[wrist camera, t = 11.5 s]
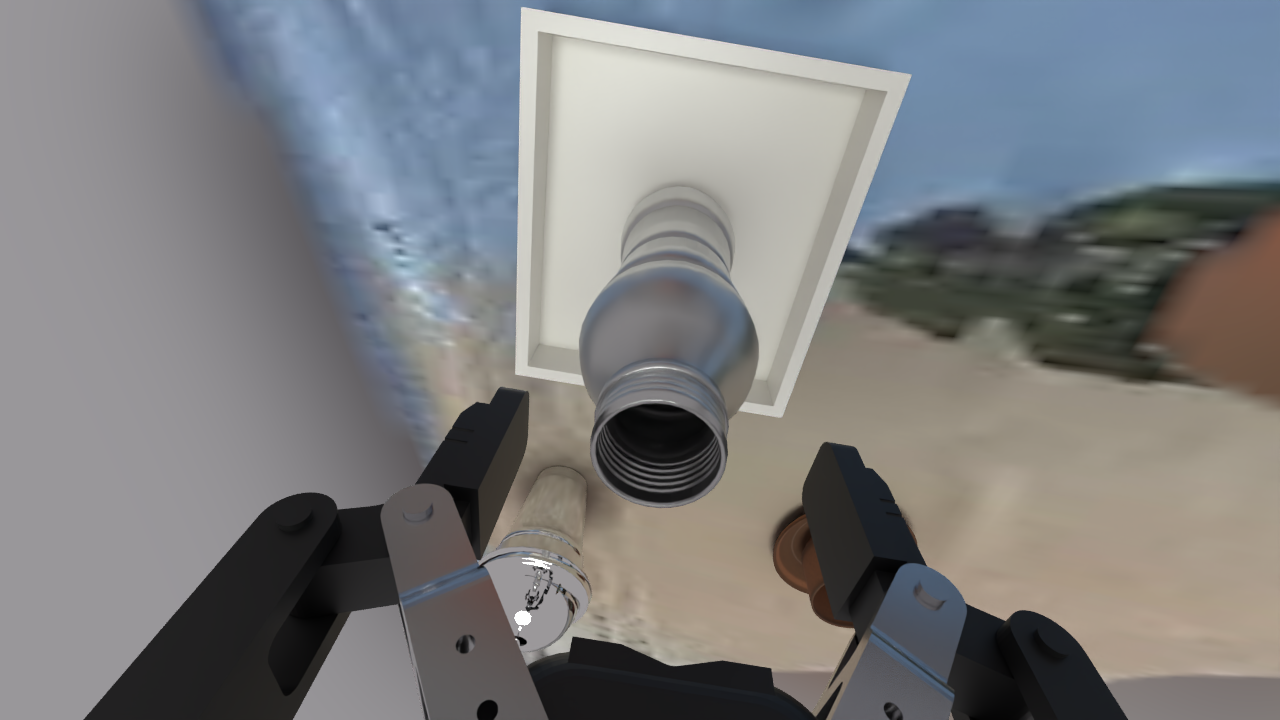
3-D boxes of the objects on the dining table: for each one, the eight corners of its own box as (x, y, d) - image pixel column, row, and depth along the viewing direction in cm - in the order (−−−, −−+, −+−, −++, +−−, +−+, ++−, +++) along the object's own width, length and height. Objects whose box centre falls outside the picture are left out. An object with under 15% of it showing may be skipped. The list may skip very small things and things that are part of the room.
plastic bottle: (735, 176, 28) (804, 340, 10) (729, 288, 31) (773, 551, 14) (623, 179, 28) (513, 338, 11) (628, 288, 32) (552, 539, 14)
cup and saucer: (752, 510, 43) (762, 572, 38) (894, 474, 40) (926, 537, 34) (791, 590, 48) (804, 654, 43) (919, 564, 45) (950, 629, 40)
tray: (542, 15, 25) (521, 6, 22) (880, 74, 26) (911, 74, 22) (531, 345, 36) (515, 374, 32) (772, 384, 36) (781, 417, 32)
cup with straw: (629, 486, 42) (594, 769, 25) (567, 534, 46) (500, 808, 29) (551, 431, 40) (453, 705, 23) (492, 487, 44) (370, 757, 26)
